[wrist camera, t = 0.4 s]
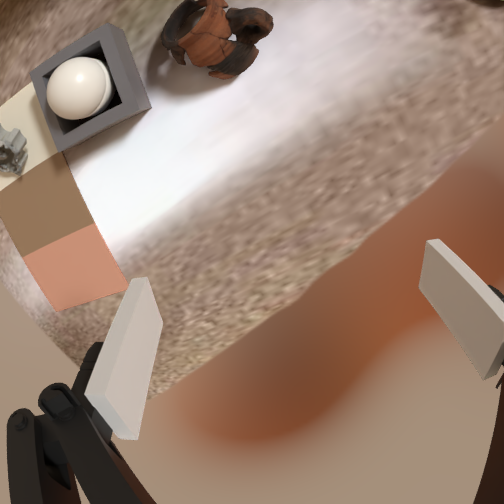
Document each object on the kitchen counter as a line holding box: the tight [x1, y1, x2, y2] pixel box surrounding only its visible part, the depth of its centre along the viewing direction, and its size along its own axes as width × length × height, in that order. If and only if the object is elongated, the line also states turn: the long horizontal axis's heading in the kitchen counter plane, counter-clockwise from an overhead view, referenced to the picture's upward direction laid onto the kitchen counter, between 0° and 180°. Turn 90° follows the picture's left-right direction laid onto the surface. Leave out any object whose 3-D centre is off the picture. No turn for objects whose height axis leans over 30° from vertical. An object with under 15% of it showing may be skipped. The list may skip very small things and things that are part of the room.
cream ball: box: [46, 57, 116, 120], centre depth 27 cm, size 7×7×7 cm
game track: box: [0, 82, 129, 312], centre depth 38 cm, size 33×16×1 cm, turn 18°
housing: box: [30, 23, 152, 153], centre depth 29 cm, size 11×11×5 cm
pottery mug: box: [161, 0, 274, 79], centre depth 27 cm, size 12×9×8 cm
